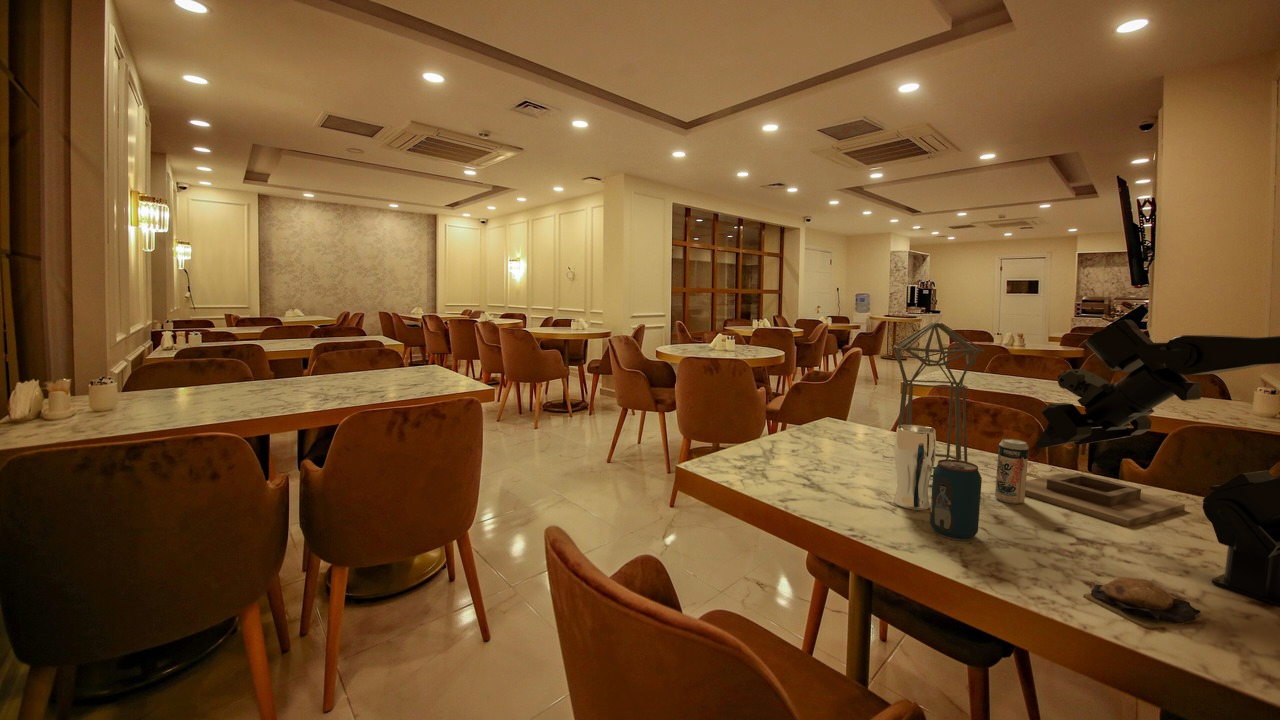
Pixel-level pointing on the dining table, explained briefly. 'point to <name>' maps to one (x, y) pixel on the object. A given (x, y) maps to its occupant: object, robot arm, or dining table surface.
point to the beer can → (1011, 471)
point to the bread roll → (1142, 603)
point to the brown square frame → (1101, 498)
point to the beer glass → (914, 465)
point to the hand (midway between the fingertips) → (1056, 444)
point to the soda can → (955, 499)
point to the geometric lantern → (967, 349)
